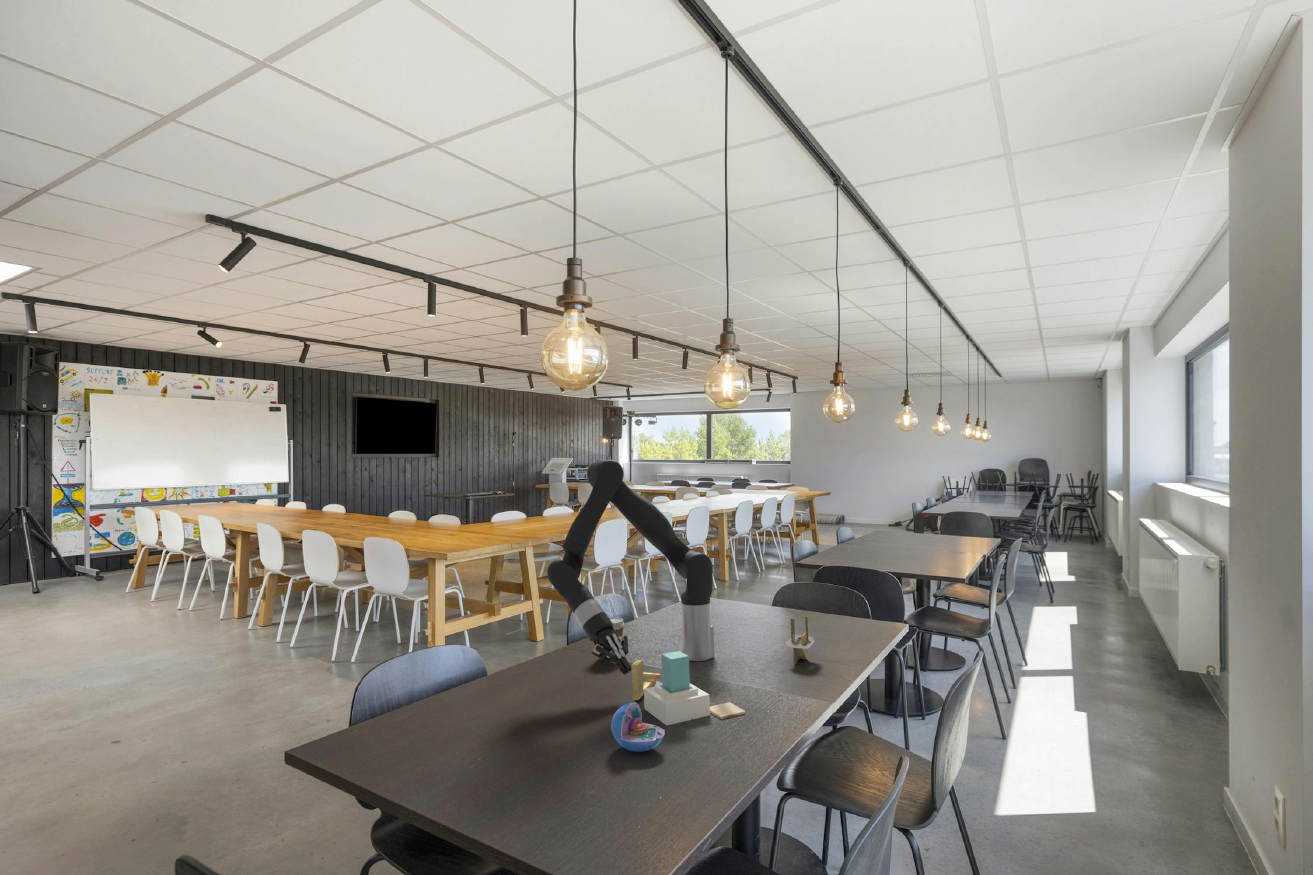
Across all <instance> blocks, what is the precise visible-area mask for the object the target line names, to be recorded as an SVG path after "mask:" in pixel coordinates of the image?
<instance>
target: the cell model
mask: <svg viewBox="0 0 1313 875" xmlns="http://www.w3.org/2000/svg"><path fill="white" fill-rule="evenodd" d="M642 718H643V714H642V709H641V707H640V705H639V703H637V702H635V701H633V702H629V703H626V704H624V705H622V706H621V707H619V708H618V709H617V710H616V711H615V713H614V714H613V716H612V718H611V723H610V724H611V725H610V727H611V733H612V735H613V737H614V739H615V741H616V743H618V745H619V746H621V747H622V748H624V749H625V750H627V751H630V752H635V753H642V752H643V753H644V752H647V751H650V750H652V749H654V748H656V747H657V746H658V745H660V743H661V742H662V741H663V739H664V736H665V731H666V730H665V729H663V728H661V727H660V726H658V725H655V724H652V723H651V724H650V723H646V722H643V721H642Z"/></svg>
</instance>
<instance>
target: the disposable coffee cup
mask: <svg viewBox="0 0 1313 875" xmlns="http://www.w3.org/2000/svg"><path fill="white" fill-rule="evenodd" d="M608 617H609V619H610V620H611V622H612V623H613V629H614V630H615V631H616V632H617V633H618V635H619V636H621V637H623V630H624V626H625V622H624V619H623V618H621V617H618V616H617V617H615V616H608ZM606 657H607V656H606ZM600 660H602V659H600ZM602 661H603V660H602Z"/></svg>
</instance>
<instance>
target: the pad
mask: <svg viewBox="0 0 1313 875" xmlns="http://www.w3.org/2000/svg"><path fill="white" fill-rule="evenodd" d="M710 714H712V715H713V716H715V717H717V718H718V719H719V720H725V719H728V718H733V717H734V718H735V717H737V716H738V717H739V716H742V715H745V714H746V710H744V709H742V708H741V707H738V706H737V705H735V704H733V703H732V702H730V701H728V702H724V703H719V704H715V705H711V706H710Z"/></svg>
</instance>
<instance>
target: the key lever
mask: <svg viewBox="0 0 1313 875" xmlns="http://www.w3.org/2000/svg"><path fill="white" fill-rule="evenodd" d="M631 668H632V669H631V682H632V683H631V686H632V687H631V688H632V689H631V690H632V700H634V701H639V700H640V699H641V698H643V696H644V689H645V688H650V687H651V686H652V685H655V684H656V681H657V679H659V680H660V679H662V673H657V672H655V673H654V672H645V671H644V661H643V660H642V659H635V661H634V662H633V663H632V664H631ZM644 678H646V679H647V681H645V682H646V683H645V684H644V685H643V683H644Z"/></svg>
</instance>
